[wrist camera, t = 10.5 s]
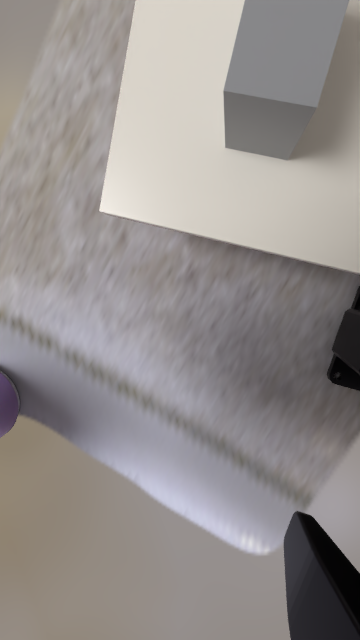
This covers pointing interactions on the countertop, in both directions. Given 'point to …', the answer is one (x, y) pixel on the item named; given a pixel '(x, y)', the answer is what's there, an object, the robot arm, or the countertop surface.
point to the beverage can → (8, 404)
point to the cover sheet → (195, 129)
